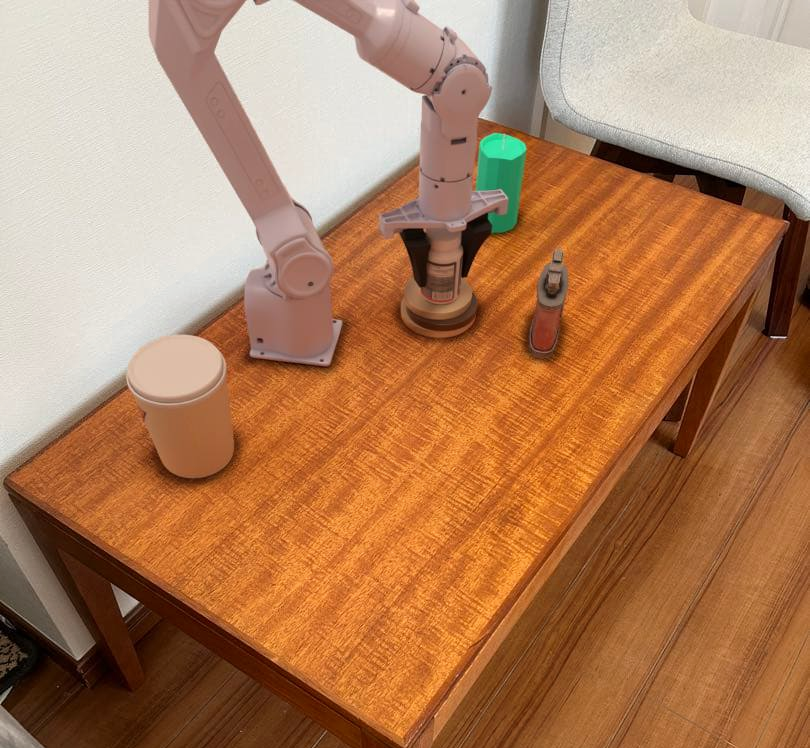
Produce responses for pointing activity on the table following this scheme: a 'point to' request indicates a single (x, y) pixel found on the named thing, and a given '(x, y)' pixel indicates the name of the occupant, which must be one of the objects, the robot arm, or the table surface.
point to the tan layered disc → (438, 312)
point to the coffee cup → (184, 403)
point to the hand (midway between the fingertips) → (440, 277)
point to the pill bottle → (443, 266)
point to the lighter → (549, 306)
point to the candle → (502, 175)
